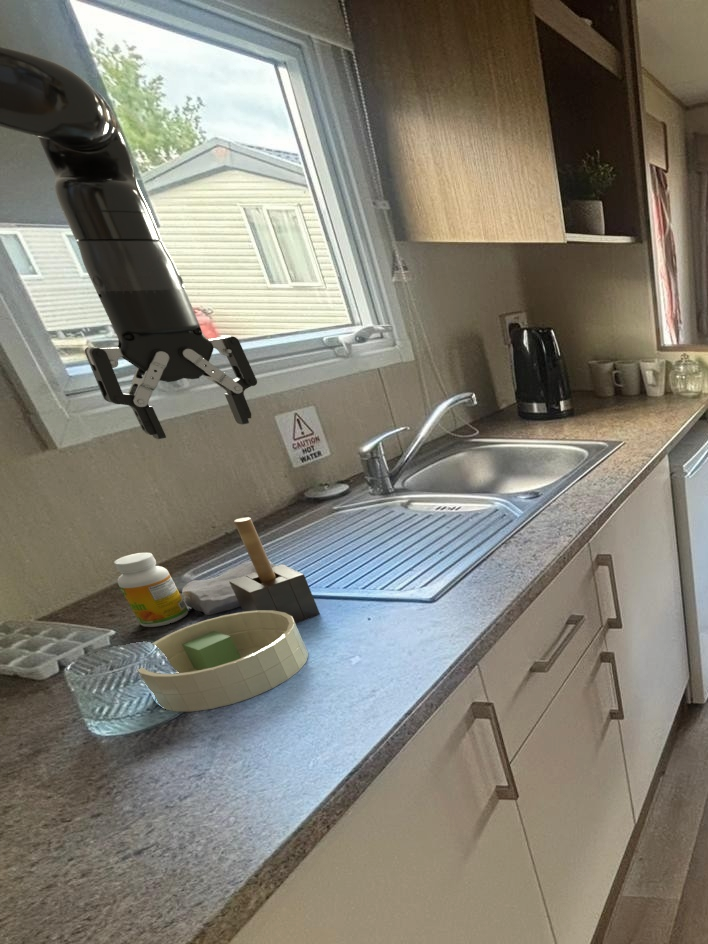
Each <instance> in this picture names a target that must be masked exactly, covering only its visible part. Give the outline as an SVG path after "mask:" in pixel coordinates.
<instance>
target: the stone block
mask: <svg viewBox="0 0 708 944" xmlns="http://www.w3.org/2000/svg"><path fill="white" fill-rule="evenodd" d="M269 562H270V564H271V567H275V566H277V565H276V564H275V563H273V562H272V561H271V560H269ZM253 573H256V570H255V568H254V566H253V563H252V561H251V560H248V561H245V562H243V563H241V564H238V565H236V566H233V567H231V568H229V569H227V570H225V572H223V573H222V574H220V575H218V576H216V577H212V578H208V579H204V580H192V581H188V583H186V584H185V585H184V587H183V588H182V590H181V597H182V599H183V601H184V603H185V605H186V607H187V606H188V608H191V609H193V610H195V611H196V612H200V613H201V612H202V613H204V615H206V616H211V615H215V614H218V613H221V612H226V611H230V610H234V609H236V608H241V606H240V604H239V602H238V600H237V598H236V595H235V593H234V591H233V589H232V587H231V585H230V583H229V581H231V580H234V579H238V578H241V577H244V576H247V575H250V574H253Z"/></svg>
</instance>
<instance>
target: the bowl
mask: <svg viewBox="0 0 708 944" xmlns="http://www.w3.org/2000/svg"><path fill="white" fill-rule="evenodd" d="M213 631H215V632H218V633H222V634H225V635H228V636H231V638H232V640H233V642H234V644H235V646H236V648H237V650H238V652H239V654H240V657H241V658H240V659H238V660H235V661H232V662H229V663H226V664H223V665H219V666H216V667H213V668H208V669H203V670H197V669H195V668H194V667H193V665H192V663H191V661H190V659H189V657H188V656H187V654H186V652H185V650H184V648H183V646H182V644H184V643H186V642H189V641H191V640H194V639H196V638H198V637H201V636H203V635H205V634H208V633H210V632H213ZM151 644H154V645H156V646H157V647H158V648H159V649H160V650H161V651H162V652H163V653H164V654H165V656H166V657H167V659H168V661H169V662H170V664H171V665H172V666H173V668H174V669H175V670H177V671H178V672H179V673H176V674H161V673H154V672H150V671H147V670H146V669H144V668H143V667H141V668H140V669H138V670H137V671H138V673H139V674H140V676H141V678H142V679H143V681H144V682H145V684H146V685H147V686H148V688H149V689H150V690H151V691H152V692H153V693H154V695H155V697H156V699H157V701H158V703H159V704H160V705H161V706H162V707H164V709H163V710H165V709H166V711H170V712H177V713H178V712H181V713H192V712H199V711H207V710H208V711H209V710H213V709H218V708H222V707H227V706H231V705H234V704H237V703H240V702H243V701H245V700H249V699H252V698H254V697H257V696H259V695H261V694H264V693H265V692H268V691H270V690H272V689H275V688H277V687H278V686H279V685H281V684H283V683H285V682H287V681H288V680H289V679H291V678H292V677H293V676H295V674H297V673H298V672H300V671H301V669H302V668H304V667H303V666H304V665H305V664H306V663H307V661H308V657H309V652H308V650H307V647H306V645H305V642H304V641H303V638H302V635H301V633H300V631H299V629H298V626H297V623H296V624H295V622H294V619H293V617H292V616H290V615H288V614H287V613H284V612H279V611H273V610H256V611H246V612H243V611H240V612H235V613H230V614H223V615H219V616H216V617H213V618H208V619H205V620H201V621H199V622H195V623H193V624H189V625H187V626H184V627H182V628H180V629H177V630H175V631H173V632H171V633H168V634H166V635H165V636H162V637H161V638H159V639H157V640H156V641H154V642H152V643H151Z"/></svg>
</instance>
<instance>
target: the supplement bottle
mask: <svg viewBox="0 0 708 944" xmlns="http://www.w3.org/2000/svg"><path fill="white" fill-rule="evenodd" d="M113 564H114V566H115V568H116V569H117V571H118V573H121V575H120V576H119V577H117V579H116V582H117V585H118V586H119V589H120V590H121V592H122V594H123V597H125V599H126V601H127V603H128V604H129V606H130V608H131V610H132V612H133V614H134V616H135V617H136V619H137V621H138V622H139V625H141V626H142V627H146V628H155V627H157V628H158V627H163V626H166V625H167V626H168V625H170V623H171V624H173V623H176V622H178V621H180V620H182V619H184V618H185V617H186V616H188V614H189V609H188V607H187V604H186V603H185V601H184V599H183V597H182V594H181V593H180V592H179V589H178V587H177V586H176V584H175V581H174V580H173V577H172V576H171V574H170V572H169V570H168V569H167V568H166V567H163V566H161V565H157V560H156V559H155V557H154V555H153V554H152V553H151V552H136V553H132V554H128V555H124V556H121V557H119V558H117V559H116V560H114V562H113Z"/></svg>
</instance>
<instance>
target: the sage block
mask: <svg viewBox="0 0 708 944" xmlns="http://www.w3.org/2000/svg"><path fill="white" fill-rule="evenodd" d="M182 646H183V648H184V650H185V652H186V654H187V656H188V657H189V659H190V661H191V663H192V665H193V667H194V668H195V669H197V670H203V669H208V668H213V667H216V666H219V665H223V664H226V663H229V662H232V661H235V660H238V659H240V658H241V657H240V654H239V652H238V650H237V648H236V646H235V644H234V642H233V640H232V638H231V636H228V635H225V634H222V633H218V632H215V631H213V632H210V633H208V634H205V635H203V636H201V637H198V638H196V639H194V640H191V641H189V642H186V643H184V644H182Z"/></svg>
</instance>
